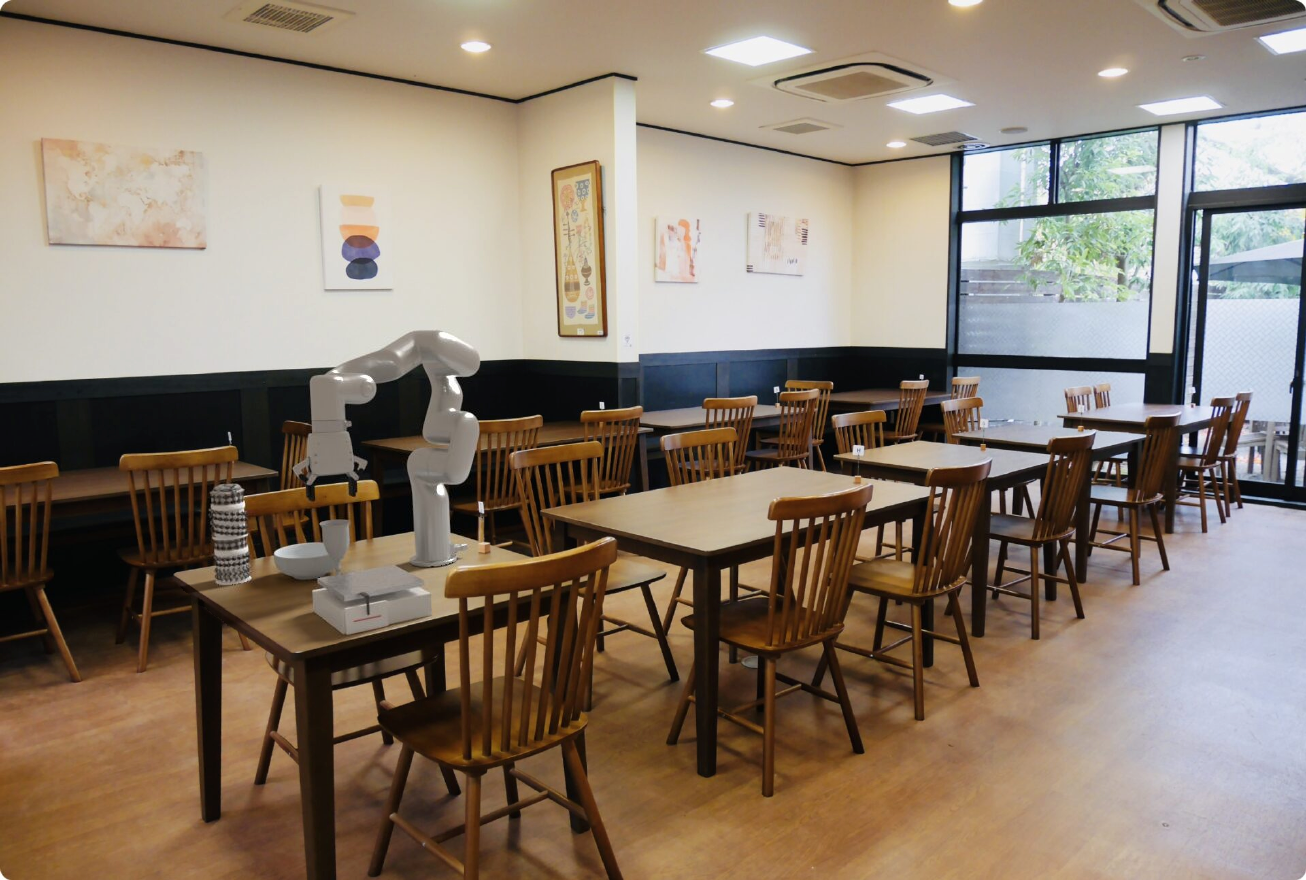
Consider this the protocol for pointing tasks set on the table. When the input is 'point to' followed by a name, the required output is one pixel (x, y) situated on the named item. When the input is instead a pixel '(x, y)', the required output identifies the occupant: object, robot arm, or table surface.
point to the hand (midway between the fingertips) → (332, 498)
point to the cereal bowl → (304, 560)
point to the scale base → (371, 609)
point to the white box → (369, 583)
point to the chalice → (336, 539)
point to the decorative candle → (229, 534)
